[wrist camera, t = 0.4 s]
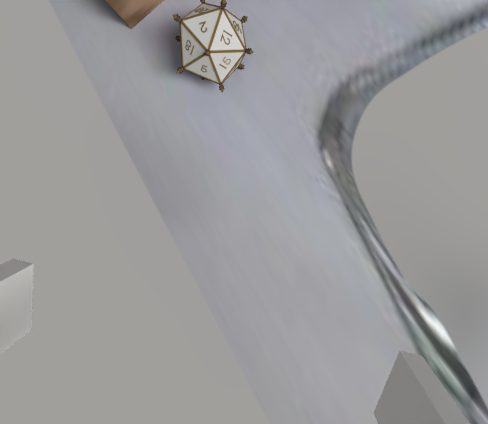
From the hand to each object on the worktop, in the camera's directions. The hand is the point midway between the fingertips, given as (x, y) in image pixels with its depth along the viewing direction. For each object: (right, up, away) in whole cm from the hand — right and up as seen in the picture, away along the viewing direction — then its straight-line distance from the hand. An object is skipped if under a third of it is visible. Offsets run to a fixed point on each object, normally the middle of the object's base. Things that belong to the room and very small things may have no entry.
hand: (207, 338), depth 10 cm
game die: (-1, +23, +26) cm, 34 cm away
